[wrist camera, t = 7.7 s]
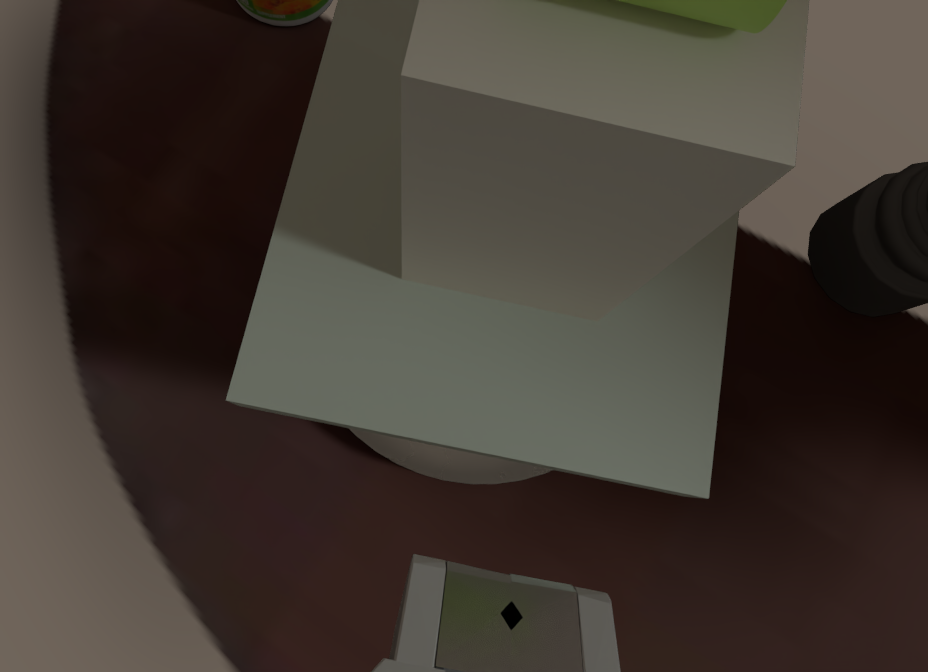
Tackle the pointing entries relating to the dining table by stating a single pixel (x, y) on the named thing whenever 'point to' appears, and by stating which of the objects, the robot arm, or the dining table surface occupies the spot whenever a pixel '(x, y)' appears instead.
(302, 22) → the supplement bottle
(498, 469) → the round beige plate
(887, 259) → the candle holder
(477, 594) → the robot arm
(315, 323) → the white stepped fixture
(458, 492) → the dining table surface
